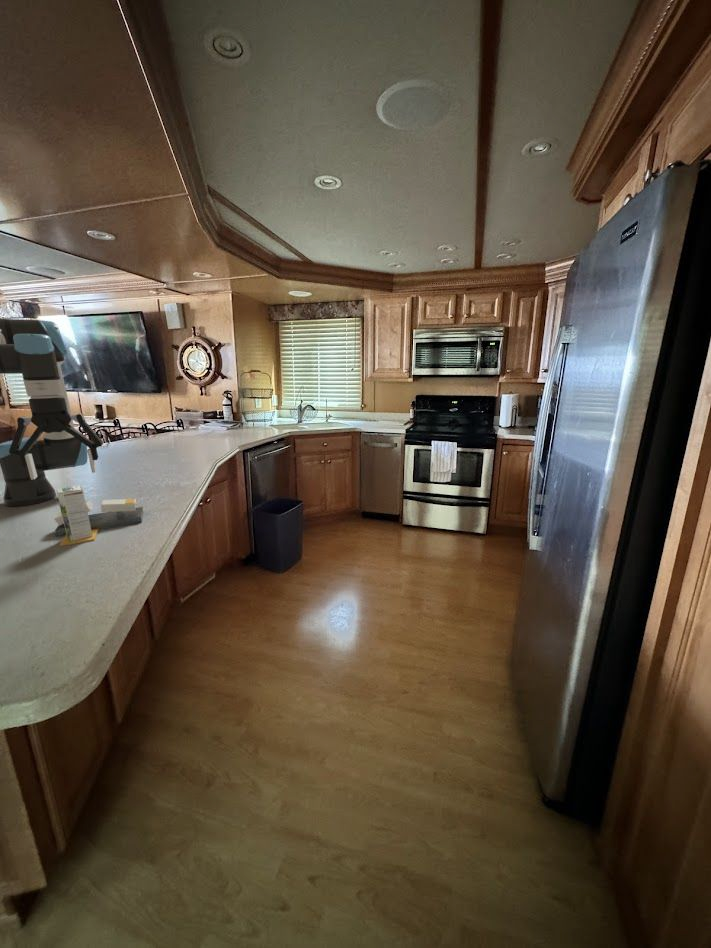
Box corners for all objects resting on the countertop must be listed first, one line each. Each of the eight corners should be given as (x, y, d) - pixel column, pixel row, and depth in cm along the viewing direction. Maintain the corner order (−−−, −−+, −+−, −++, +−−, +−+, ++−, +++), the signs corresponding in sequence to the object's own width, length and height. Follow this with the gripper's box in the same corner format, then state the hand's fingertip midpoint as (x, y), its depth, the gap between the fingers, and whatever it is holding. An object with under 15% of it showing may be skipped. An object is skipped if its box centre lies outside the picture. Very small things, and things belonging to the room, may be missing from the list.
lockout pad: (66, 535, 110) (66, 534, 110) (98, 530, 114) (98, 528, 114) (59, 546, 104) (59, 545, 103) (94, 540, 107) (94, 538, 107)
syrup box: (66, 536, 109) (54, 488, 105) (90, 530, 113) (80, 484, 109) (68, 542, 105) (56, 493, 101) (94, 536, 109) (83, 488, 105)
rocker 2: (103, 507, 120) (103, 499, 119) (136, 506, 124) (136, 498, 124) (101, 512, 116) (101, 503, 115) (135, 510, 120) (135, 503, 119)
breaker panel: (64, 524, 119) (62, 514, 118) (143, 512, 128) (141, 502, 127) (56, 536, 110) (53, 525, 109) (141, 522, 119) (139, 512, 118)
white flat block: (63, 519, 116) (58, 513, 115) (93, 505, 119) (89, 499, 118) (59, 525, 112) (54, 519, 111) (90, 510, 114) (86, 504, 113)
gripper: (-23, 400, 89) (1, 485, 95) (100, 395, 100) (116, 472, 106) (-11, 398, 96) (12, 477, 102) (104, 393, 106) (118, 466, 112)
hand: (65, 474), depth 104 cm, fingers open, 13 cm apart
